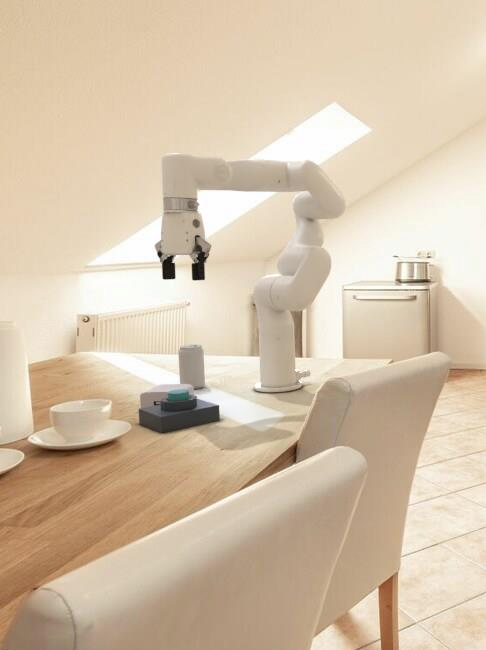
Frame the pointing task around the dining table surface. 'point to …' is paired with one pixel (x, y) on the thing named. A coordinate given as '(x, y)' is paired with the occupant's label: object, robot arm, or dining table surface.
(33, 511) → the dining table surface
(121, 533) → the dining table surface
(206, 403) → the teal push button box
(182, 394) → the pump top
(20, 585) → the dining table surface
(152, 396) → the hinged button cover
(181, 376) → the beverage can
